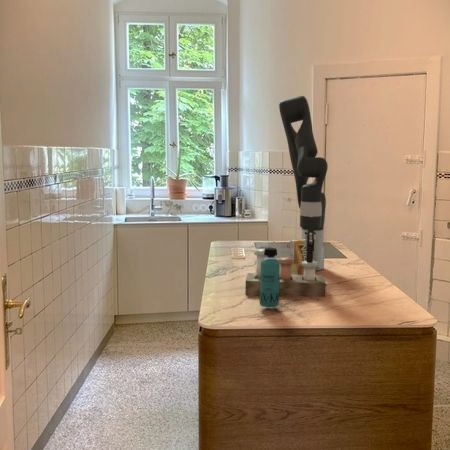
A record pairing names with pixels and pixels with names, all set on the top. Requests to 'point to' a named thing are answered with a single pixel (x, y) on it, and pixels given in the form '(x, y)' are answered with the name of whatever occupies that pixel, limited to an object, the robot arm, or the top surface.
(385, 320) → the top surface
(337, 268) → the top surface
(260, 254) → the grey plug
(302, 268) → the candy box
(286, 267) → the brown mushroom peg
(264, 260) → the beverage bottle
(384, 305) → the top surface
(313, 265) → the grey plug
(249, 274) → the walnut socket board
